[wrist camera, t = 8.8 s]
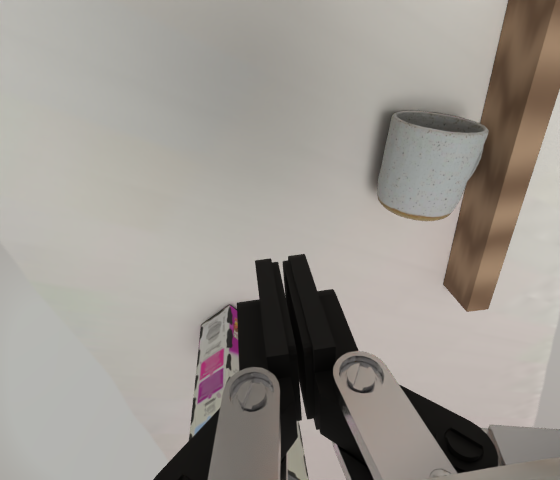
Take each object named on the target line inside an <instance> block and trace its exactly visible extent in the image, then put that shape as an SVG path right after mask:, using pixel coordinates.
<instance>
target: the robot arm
mask: <svg viewBox="0 0 560 480" xmlns="http://www.w3.org/2000/svg"><path fill="white" fill-rule="evenodd" d="M255 265H256V273H257V281H258V290H259V298H260V300H253V301H246V302H239V303H237V324H238V352H239V371H238V372H237V373H235V374H234V375H233V376H232V377H230V379H229V380H228V382H227V383H226V385H225V388H224V390H223V395H222V401H221V406H220V408H219V409H218V410H217V412H216V413H215V414H214V415H213V416H212V417H211V418H210V419H209V420H208V421H207V422H206V423H205V424H204V425H203V426H202V428H201V429H200V430H199V431H198V432H197V433H196V434H195V435H194V436H193V437H192V438H191V439H190V440H189V441H188V443H187V444H186V445H185V446H184V447H183V448H182V449H181V450H180V451H179V452H178V453H177V454H176V455H175V456H174V457H173V459H172V460H171V461H170V462H169V463H168V464H167V465H166V466H165V467H164V468H163V469H162V470H161V471H160V472H159V473H158V475H157V476H156V477H155V478H154V480H288V455H287V452H288V451H289V449H290V448H291V446H292V445H293V444H294V442H295V441H296V439H297V438H298V432H297V421H300V420H302V417H301V402H300V388H299V382H300V387H301V392H302V397H303V402H304V407H305V412H306V416H307V419H312V418H314V422H315V426H316V430H318V429H320V433H321V434H322V435H324V436H325V437H326V438H328V439H329V440H331V441H332V443H333V447H334V450H335V453H336V455H337V458H338V460H339V463H340V465H341V468H342V470H343V473H344V475H345V477H346V480H560V429H546V428H531V427H516V426H501V425H490V426H489V428H488V429H487V428H480V427H478V426H477V425H475V424H474V423H472V422H471V421H469V420H467V419H465V418H463V417H461V416H459V415H457V414H455V413H453V412H451V411H449V410H447V409H445V408H444V407H442V406H440V405H438V404H436V403H434V402H432V401H430V400H428V399H426V398H424V397H422V396H420V395H418V394H416V393H414V392H413V391H411V390H409V389H407V388H405V387H403V386H401V385H399V384H398V383H397V381H396V379H395V378H394V376H393V375H392V373H391V372H390V370H389V369H388V367H387V366H386V365H385V364H384V362H383V361H382V360H381V359H379V358H378V357H376V356H375V355H373V354H370V353H367V352H361V351H358V348H357V346H356V343H355V341H354V338H353V336H352V333H351V331H350V328H349V326H348V323H347V321H346V318H345V316H344V313H343V311H342V308H341V306H340V303H339V301H338V298H337V296H336V294H335V292H334V290H333V289H331V290H324V291H317V289H316V286H315V283H314V280H313V277H312V274H311V271H310V268H309V265H308V262H307V259H306V256H305V254H301V255H294V256H288V261H283V273H284V285H285V293H284V288H283V283H282V279H281V274H280V269H279V265H278V262H274V263H272V261H271V259H264V260H256V261H255ZM285 297H286V298H285Z"/></svg>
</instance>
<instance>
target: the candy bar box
mask: <svg viewBox="0 0 560 480" xmlns="http://www.w3.org/2000/svg"><path fill="white" fill-rule="evenodd" d="M238 371H239V352H238V324H237V310H236V309H234V308H233V307H232V306H231V305H229V306H227V307H226V308H224V309H223V310H221V311H220V312H219V313H218V314H216V315H215V316H213V317H212V318H210V319H209V320H207V321H206V322H205V323H203V324H202V325H201V331H200V341H199V351H198V360H197V369H196V380H195V390H194V398H193V408H192V417H191V427H190V436H189V440H190V439H191V438H192V437H193V436H194V435H195V434H196V433H197V432H198V431H199V430H200V429H201V428H202V426H203V425H204V424H205V423H206V422H207V421H208V420H209V419H210V418H211V417H212V416H213V415H214V414H215V413H216V412H217V410H218V409H219V408H220V406H221V401H222V395H223V390H224V388H225V385H226V383H227V382H228V380H229V379H230V377H232V376H233V375H234V374H235V373H237V372H238ZM297 432H298V438H297V439H296V441H295V442H294V444H293V445H292V446H291V448H290V449H289V451H288V452H287V455H288V480H309V479H308V473H307V467H306V462H305V455H304V449H303V443H302V438H301V432H300V426H299V421H297Z"/></svg>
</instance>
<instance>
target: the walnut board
mask: <svg viewBox="0 0 560 480" xmlns="http://www.w3.org/2000/svg"><path fill="white" fill-rule="evenodd" d="M559 89H560V0H509V1H508V5H507V10H506V14H505V18H504V23H503V27H502V31H501V36H500V40H499V44H498V49H497V53H496V58H495V62H494V66H493V71H492V75H491V79H490V84H489V88H488V92H487V97H486V101H485V105H484V110H483V114H482V118H481V123H480V124H482V125H484V126H485V127H486V128H487V129H488V131H489V132H488V135H487V138H486V141H485V143H484V147H483V152H482V156H481V159H480V161H479V164H478V166H477V167H476V170H475V171H474V173H473V174H472V176H471V177H470V179H469V180H468V181H467V184H466V188H465V192H464V197H463V201H462V205H461V210H460V214H459V218H458V223H457V227H456V231H455V236H454V240H453V244H452V249H451V253H450V257H449V262H448V266H447V271H446V275H445V279H444V284H443V285H444V286H445V287H446V288H447V289H448V291H449V292H450V293H451V294H452V295H453V296H454V297H455V299H456V300H457V301H458V302H459V303H460V304H461V306H462V307H463V308H464V309H465V310H466V311H467V312H469V311H477V310H485V309H488V308H489V305H490V302H491V299H492V296H493V293H494V290H495V287H496V284H497V281H498V277H499V274H500V271H501V268H502V265H503V262H504V259H505V256H506V253H507V250H508V247H509V243H510V240H511V237H512V234H513V231H514V228H515V225H516V222H517V219H518V216H519V213H520V210H521V206H522V203H523V200H524V197H525V194H526V191H527V188H528V185H529V182H530V179H531V176H532V172H533V169H534V166H535V163H536V160H537V157H538V154H539V151H540V148H541V145H542V142H543V139H544V135H545V132H546V129H547V126H548V123H549V120H550V117H551V114H552V111H553V108H554V105H555V101H556V98H557V95H558V92H559Z"/></svg>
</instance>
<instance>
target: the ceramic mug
mask: <svg viewBox="0 0 560 480" xmlns="http://www.w3.org/2000/svg"><path fill="white" fill-rule="evenodd" d="M488 132H489V131H488V129H487V128H486V127H485V126H484V125H482V124H480V123H477V122H475V121H471V120H468V119H464V118H461V117H456V116H452V115H446V114H441V113H432V112H425V111H399V112H396V113H394V114H393V115H392V117H391V123H390V128H389V133H388V137H387V141H386V146H385V151H384V156H383V161H382V166H381V170H380V174H379V179H378V185H377V196H378V200H379V201H380V203H381V204H382V205H383V206H384V207H385V208H386V209H388V210H389V211H391V212H393V213H395V214H396V215H399V216H402V217H405V218H409V219H413V220H420V221H435V220H440V219H443V218H445V217H447V216H449V215H450V214H451V212H452V211H453V210H454V209H455V207H456V205H457V204H458V202H459V201H460V198H461V196H462V194H463V191H464V189H465V186H466V184H467V181H468V180H469V179H470V177H471V176H472V174H473V173H474V171H475V170H476V167H477V166H478V164H479V161H480V159H481V156H482V152H483V147H484V143H485V141H486V138H487V135H488Z"/></svg>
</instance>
